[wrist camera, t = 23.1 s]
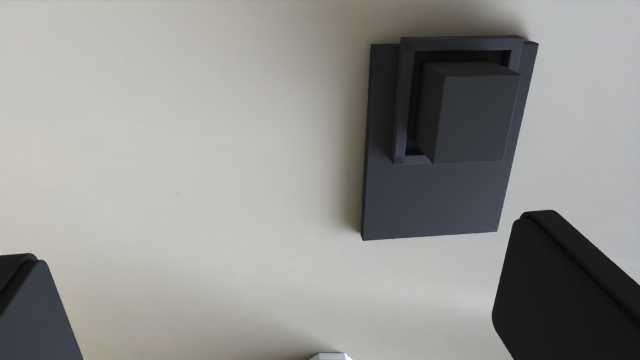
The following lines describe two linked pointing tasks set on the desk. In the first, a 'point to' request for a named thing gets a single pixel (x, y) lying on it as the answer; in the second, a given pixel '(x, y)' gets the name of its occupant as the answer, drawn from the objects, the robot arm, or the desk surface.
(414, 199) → the base pad
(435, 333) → the desk surface
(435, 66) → the dark grey block
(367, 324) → the desk surface
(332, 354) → the ceramic cup
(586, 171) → the desk surface
